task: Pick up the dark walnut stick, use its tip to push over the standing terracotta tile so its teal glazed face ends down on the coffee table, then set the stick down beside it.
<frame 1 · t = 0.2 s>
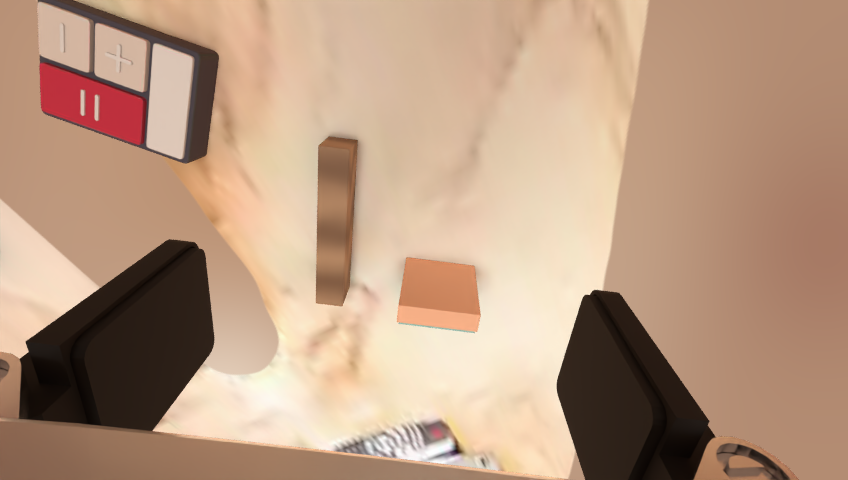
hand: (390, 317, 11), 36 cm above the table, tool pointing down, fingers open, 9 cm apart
stick: (340, 216, 49), on the table
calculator: (141, 81, 44), on the table
tile: (439, 269, 52), on the table
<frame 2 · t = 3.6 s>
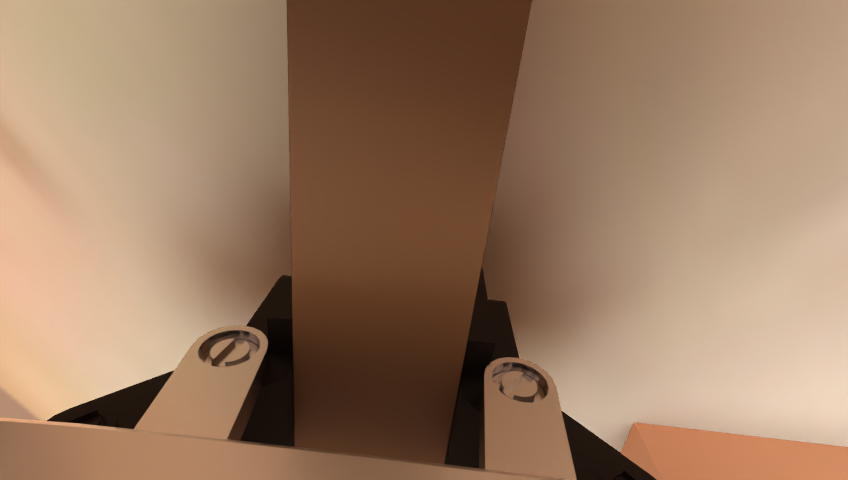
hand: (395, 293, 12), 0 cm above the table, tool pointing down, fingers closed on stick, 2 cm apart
stick: (397, 285, 12), on the table, touching gripper
tile: (743, 458, 14), on the table
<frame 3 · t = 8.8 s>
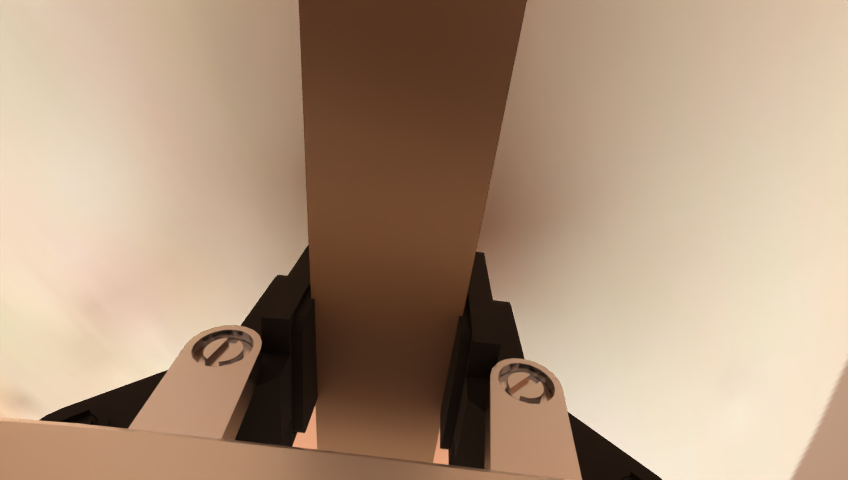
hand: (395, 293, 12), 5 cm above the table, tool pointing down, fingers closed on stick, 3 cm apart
stick: (402, 256, 13), point 4 cm above the table, tilted 7°, touching gripper
tile: (389, 393, 19), point 1 cm above the table, tilted 90°
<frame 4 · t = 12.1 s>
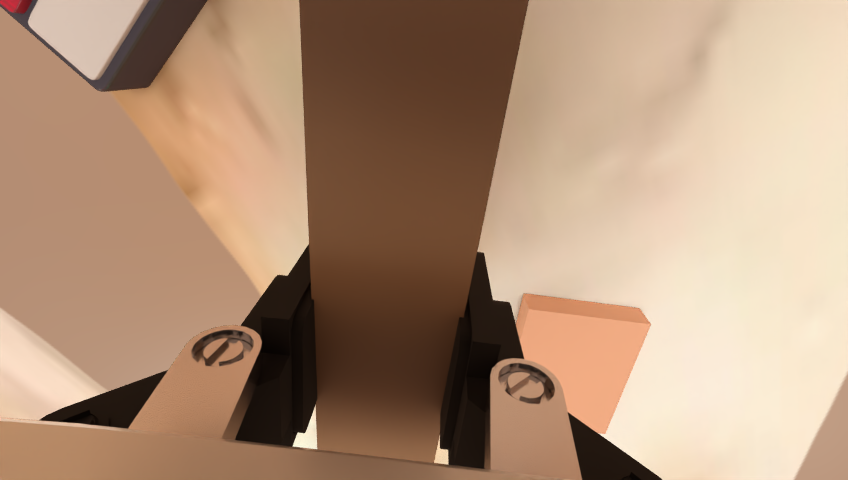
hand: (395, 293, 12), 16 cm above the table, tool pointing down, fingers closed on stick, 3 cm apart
stick: (402, 258, 13), point 14 cm above the table, tilted 7°, touching gripper
tile: (585, 308, 29), point 1 cm above the table, tilted 90°
when the fingers open (2 cm above the table, at t = 15.0 s): stick drops 1 cm, on the table.
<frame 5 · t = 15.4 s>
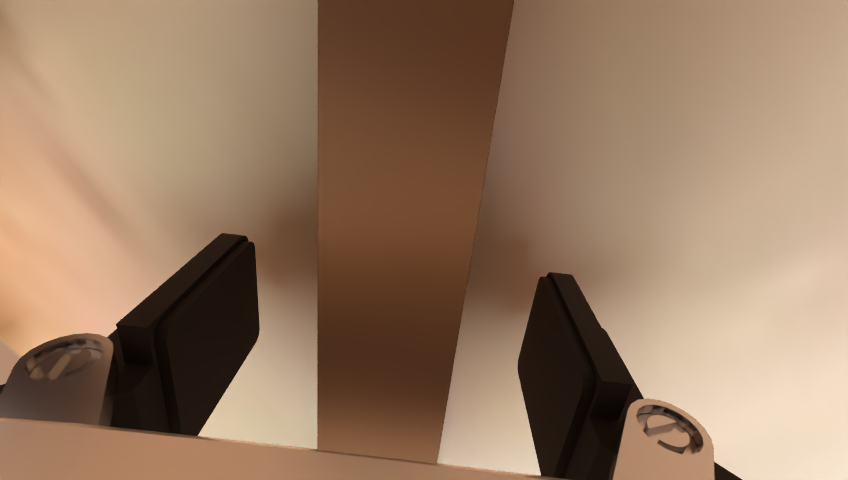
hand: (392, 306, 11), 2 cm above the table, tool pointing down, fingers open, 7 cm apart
stick: (402, 264, 14), on the table
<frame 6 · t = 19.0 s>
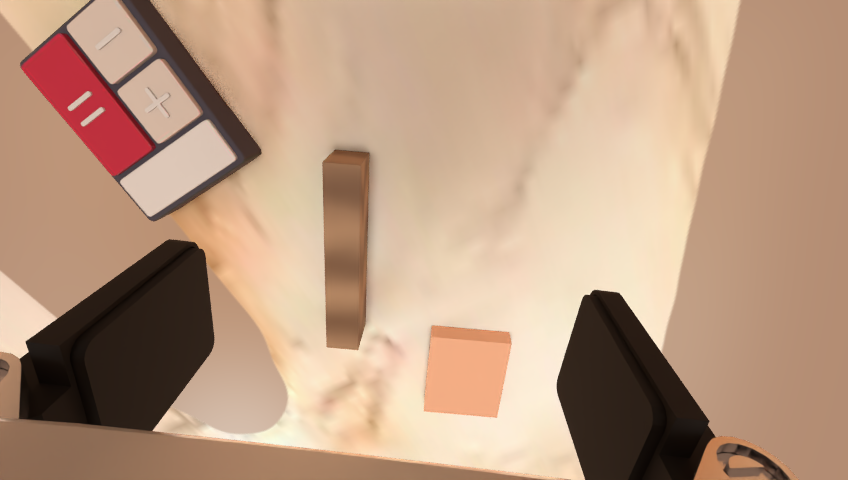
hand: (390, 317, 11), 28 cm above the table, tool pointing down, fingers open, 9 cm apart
stick: (352, 243, 42), on the table
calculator: (161, 108, 38), on the table
tile: (470, 334, 44), point 1 cm above the table, tilted 90°
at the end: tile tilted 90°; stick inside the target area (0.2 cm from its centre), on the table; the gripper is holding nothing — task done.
